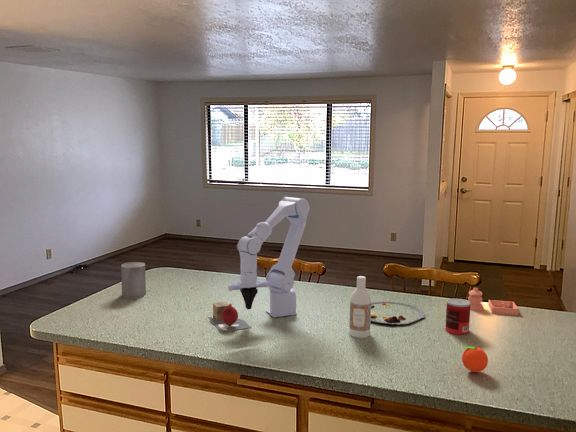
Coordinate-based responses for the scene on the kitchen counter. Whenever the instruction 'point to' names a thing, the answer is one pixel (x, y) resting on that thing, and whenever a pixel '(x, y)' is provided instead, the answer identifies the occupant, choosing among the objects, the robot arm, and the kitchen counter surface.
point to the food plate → (394, 319)
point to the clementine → (474, 359)
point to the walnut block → (219, 309)
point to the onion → (229, 315)
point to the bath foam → (360, 310)
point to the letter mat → (224, 328)
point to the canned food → (457, 316)
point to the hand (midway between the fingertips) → (248, 308)
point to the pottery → (491, 304)
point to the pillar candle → (133, 280)
